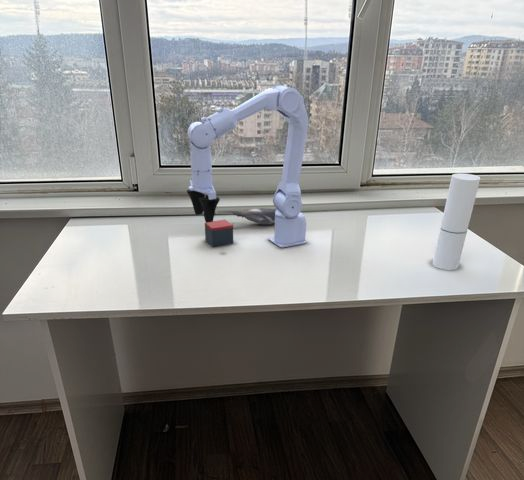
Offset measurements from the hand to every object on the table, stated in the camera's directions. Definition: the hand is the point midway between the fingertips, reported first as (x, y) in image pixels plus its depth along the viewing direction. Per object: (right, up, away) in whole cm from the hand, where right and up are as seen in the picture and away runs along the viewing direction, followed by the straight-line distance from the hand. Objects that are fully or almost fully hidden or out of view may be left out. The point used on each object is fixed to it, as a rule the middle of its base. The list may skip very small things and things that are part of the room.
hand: (204, 217), depth 145 cm
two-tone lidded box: (+4, -5, +12) cm, 13 cm away
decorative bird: (+14, +5, +27) cm, 31 cm away
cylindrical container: (+71, -14, 0) cm, 72 cm away
